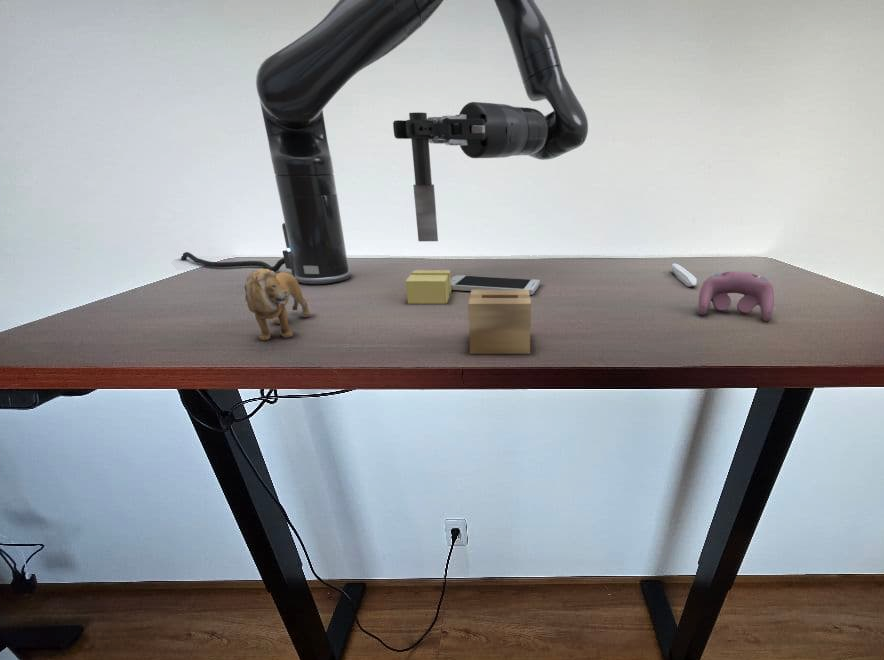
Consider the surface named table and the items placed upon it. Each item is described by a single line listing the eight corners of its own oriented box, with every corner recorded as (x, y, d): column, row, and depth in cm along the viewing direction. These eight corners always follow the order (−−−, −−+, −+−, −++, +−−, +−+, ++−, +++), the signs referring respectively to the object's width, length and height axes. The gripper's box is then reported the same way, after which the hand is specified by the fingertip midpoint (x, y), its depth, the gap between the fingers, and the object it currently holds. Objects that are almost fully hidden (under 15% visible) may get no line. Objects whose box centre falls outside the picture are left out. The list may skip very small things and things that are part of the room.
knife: (417, 242, 73) (405, 112, 65) (419, 239, 75) (408, 113, 67) (437, 242, 73) (427, 112, 65) (438, 239, 75) (429, 113, 67)
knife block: (470, 353, 56) (468, 303, 53) (473, 336, 61) (471, 289, 58) (529, 353, 56) (531, 303, 53) (527, 336, 61) (528, 289, 58)
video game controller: (766, 325, 70) (774, 277, 69) (773, 320, 65) (782, 269, 65) (694, 318, 72) (702, 272, 72) (697, 313, 68) (705, 264, 68)
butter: (407, 303, 74) (405, 281, 72) (415, 291, 80) (413, 270, 79) (446, 303, 74) (445, 281, 72) (451, 291, 81) (450, 270, 79)
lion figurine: (298, 347, 58) (282, 271, 53) (250, 350, 57) (230, 274, 52) (313, 311, 70) (301, 248, 66) (274, 313, 69) (259, 249, 65)
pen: (675, 270, 94) (677, 262, 94) (698, 288, 82) (699, 279, 81) (667, 270, 94) (668, 261, 94) (688, 288, 82) (690, 279, 81)
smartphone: (456, 279, 87) (455, 274, 87) (539, 284, 84) (540, 279, 84) (442, 289, 81) (442, 283, 80) (532, 295, 78) (532, 289, 77)
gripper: (463, 105, 78) (370, 99, 68) (525, 100, 70) (430, 92, 59) (465, 157, 82) (377, 159, 71) (524, 158, 73) (434, 161, 63)
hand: (401, 129), depth 65 cm, fingers closed on knife, 2 cm apart
